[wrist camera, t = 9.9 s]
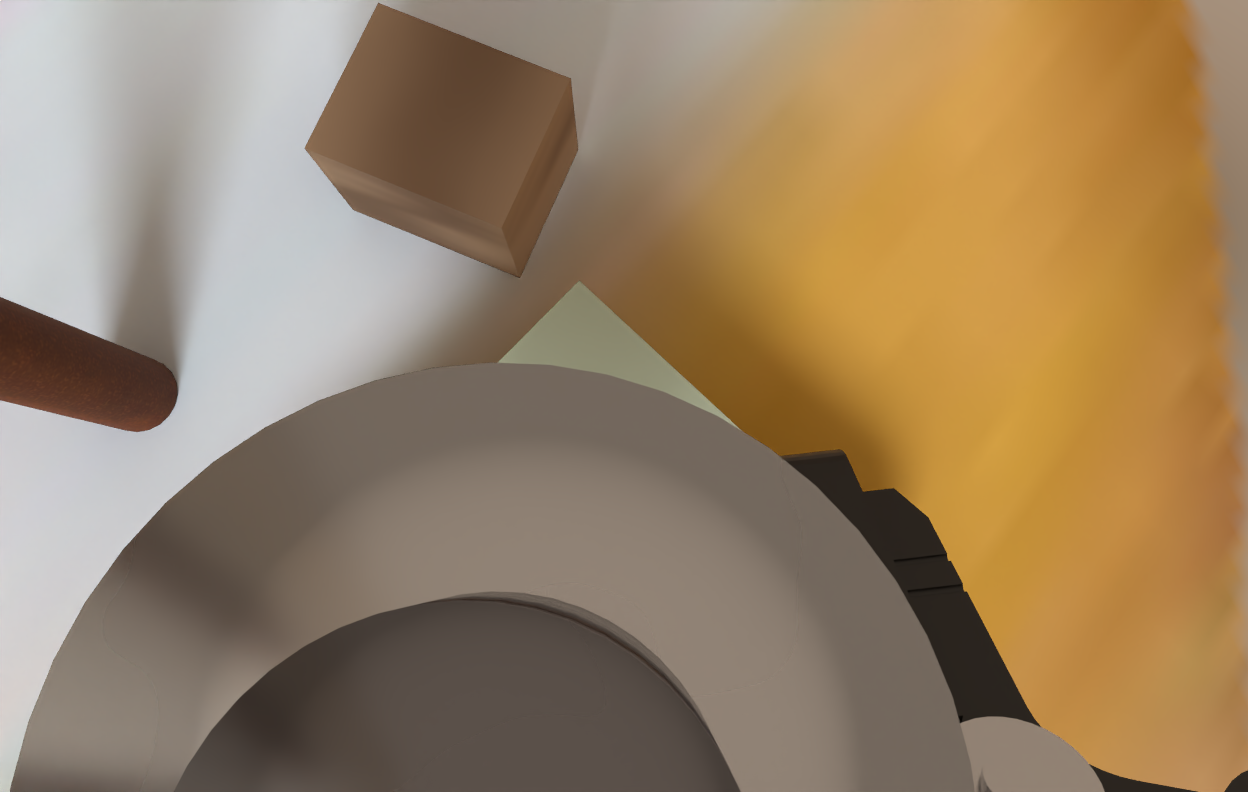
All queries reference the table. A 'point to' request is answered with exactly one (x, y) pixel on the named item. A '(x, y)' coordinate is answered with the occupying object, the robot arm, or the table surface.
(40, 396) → the plant pot with stand
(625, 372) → the green plinth
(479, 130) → the walnut offcut
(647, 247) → the table surface
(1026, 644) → the table surface
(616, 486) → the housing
